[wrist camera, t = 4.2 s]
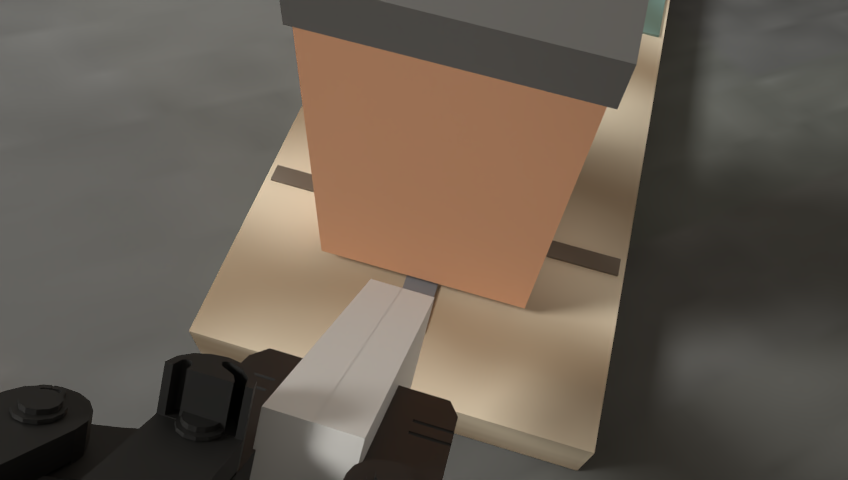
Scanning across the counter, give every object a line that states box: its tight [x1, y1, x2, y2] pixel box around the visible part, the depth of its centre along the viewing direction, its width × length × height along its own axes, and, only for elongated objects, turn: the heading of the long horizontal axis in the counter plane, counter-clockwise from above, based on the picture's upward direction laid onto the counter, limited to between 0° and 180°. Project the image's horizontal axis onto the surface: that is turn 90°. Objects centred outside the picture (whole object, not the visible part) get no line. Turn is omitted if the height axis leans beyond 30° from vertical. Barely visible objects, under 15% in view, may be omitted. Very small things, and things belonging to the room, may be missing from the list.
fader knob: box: [280, 0, 649, 309], centre depth 19 cm, size 5×7×10 cm
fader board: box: [189, 0, 670, 471], centre depth 29 cm, size 30×12×2 cm, turn 164°
